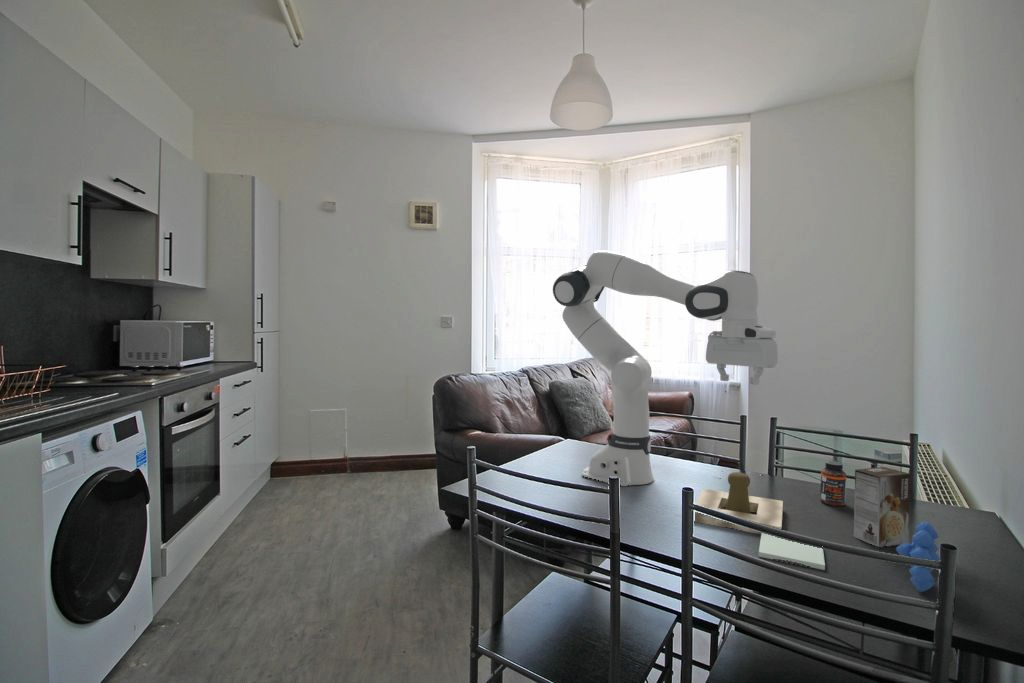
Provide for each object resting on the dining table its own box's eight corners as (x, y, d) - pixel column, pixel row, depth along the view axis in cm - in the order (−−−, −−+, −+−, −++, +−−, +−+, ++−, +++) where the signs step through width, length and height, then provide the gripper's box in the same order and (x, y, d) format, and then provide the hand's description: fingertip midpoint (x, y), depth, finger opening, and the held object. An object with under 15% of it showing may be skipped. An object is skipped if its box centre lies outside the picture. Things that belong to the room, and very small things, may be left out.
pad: (758, 556, 107) (758, 551, 107) (761, 535, 118) (761, 531, 118) (824, 570, 102) (824, 565, 102) (821, 547, 112) (821, 542, 112)
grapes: (899, 568, 102) (901, 510, 102) (943, 580, 98) (945, 519, 97) (889, 589, 94) (891, 526, 94) (936, 603, 90) (938, 537, 89)
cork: (746, 511, 133) (746, 470, 133) (754, 520, 127) (755, 477, 127) (722, 510, 134) (723, 469, 133) (729, 519, 128) (730, 476, 127)
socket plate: (690, 521, 126) (691, 511, 126) (703, 497, 144) (703, 488, 144) (781, 537, 117) (781, 527, 117) (782, 510, 134) (782, 500, 134)
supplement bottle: (823, 505, 138) (824, 464, 137) (817, 498, 144) (818, 459, 143) (848, 508, 136) (849, 466, 136) (841, 500, 142) (842, 460, 141)
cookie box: (881, 532, 120) (884, 465, 120) (909, 543, 114) (912, 473, 113) (852, 536, 118) (854, 468, 117) (879, 548, 111) (881, 476, 111)
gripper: (700, 330, 143) (700, 379, 143) (765, 331, 125) (764, 387, 125) (716, 330, 146) (716, 378, 146) (781, 331, 128) (781, 385, 128)
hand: (739, 382), depth 136 cm, fingers open, 8 cm apart
